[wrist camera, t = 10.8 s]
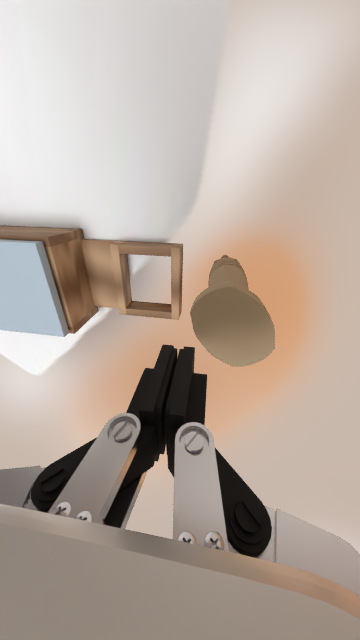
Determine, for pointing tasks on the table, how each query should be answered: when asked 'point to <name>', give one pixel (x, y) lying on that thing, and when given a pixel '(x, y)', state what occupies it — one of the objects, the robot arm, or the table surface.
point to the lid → (28, 290)
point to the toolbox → (99, 272)
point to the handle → (232, 317)
